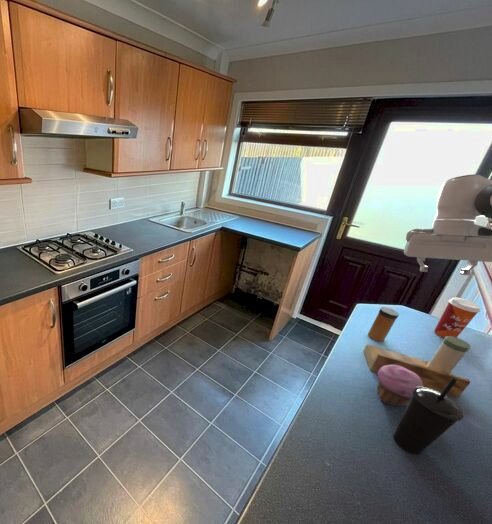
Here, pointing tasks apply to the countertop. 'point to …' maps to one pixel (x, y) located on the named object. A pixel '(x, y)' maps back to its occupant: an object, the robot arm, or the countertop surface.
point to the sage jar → (448, 354)
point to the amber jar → (383, 324)
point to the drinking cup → (426, 418)
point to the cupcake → (397, 384)
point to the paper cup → (456, 317)
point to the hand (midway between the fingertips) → (443, 273)
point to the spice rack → (415, 369)
